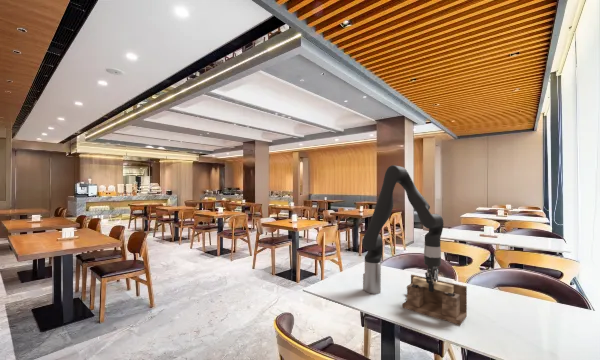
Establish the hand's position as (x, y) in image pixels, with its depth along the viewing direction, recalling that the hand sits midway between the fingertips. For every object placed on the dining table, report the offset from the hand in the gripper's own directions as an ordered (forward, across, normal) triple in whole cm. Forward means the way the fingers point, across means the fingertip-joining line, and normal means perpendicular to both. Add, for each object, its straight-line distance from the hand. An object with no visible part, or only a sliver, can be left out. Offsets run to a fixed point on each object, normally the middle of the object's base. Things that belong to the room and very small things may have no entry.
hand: (432, 290), depth 137 cm
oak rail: (+3, 0, 0) cm, 3 cm away
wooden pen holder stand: (+11, -2, 0) cm, 11 cm away
